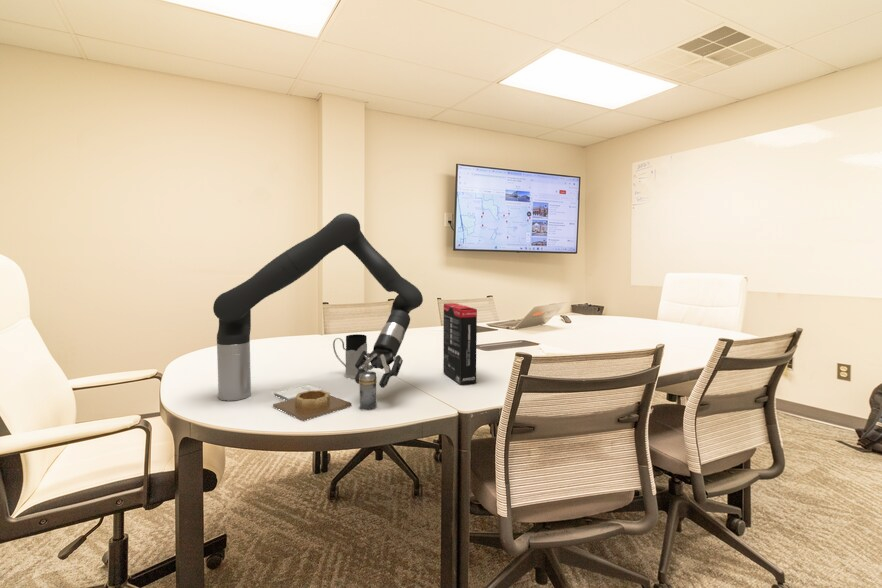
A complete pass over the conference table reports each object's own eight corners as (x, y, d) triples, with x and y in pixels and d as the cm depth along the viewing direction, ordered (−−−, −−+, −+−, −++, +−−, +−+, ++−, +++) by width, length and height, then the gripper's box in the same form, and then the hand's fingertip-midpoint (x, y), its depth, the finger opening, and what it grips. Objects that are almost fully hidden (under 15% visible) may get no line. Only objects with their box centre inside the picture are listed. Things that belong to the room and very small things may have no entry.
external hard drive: (274, 397, 137) (308, 388, 146) (288, 403, 131) (322, 393, 141) (274, 392, 137) (308, 383, 146) (287, 398, 131) (322, 388, 141)
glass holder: (360, 380, 155) (360, 339, 154) (327, 376, 160) (326, 336, 159) (372, 374, 164) (372, 335, 163) (339, 370, 168) (339, 332, 167)
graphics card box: (477, 384, 152) (479, 307, 150) (459, 386, 150) (460, 308, 147) (457, 372, 168) (459, 302, 166) (441, 373, 165) (442, 303, 163)
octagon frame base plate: (273, 407, 126) (272, 395, 126) (320, 394, 138) (320, 384, 138) (303, 421, 116) (303, 408, 115) (351, 406, 128) (351, 394, 128)
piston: (355, 407, 127) (355, 373, 126) (369, 402, 131) (368, 370, 130) (367, 411, 124) (366, 377, 123) (380, 406, 128) (380, 373, 127)
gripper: (366, 330, 137) (344, 374, 128) (405, 334, 131) (384, 381, 122) (375, 344, 143) (354, 387, 133) (413, 348, 137) (394, 394, 127)
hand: (369, 384), depth 128 cm, fingers open, 8 cm apart
